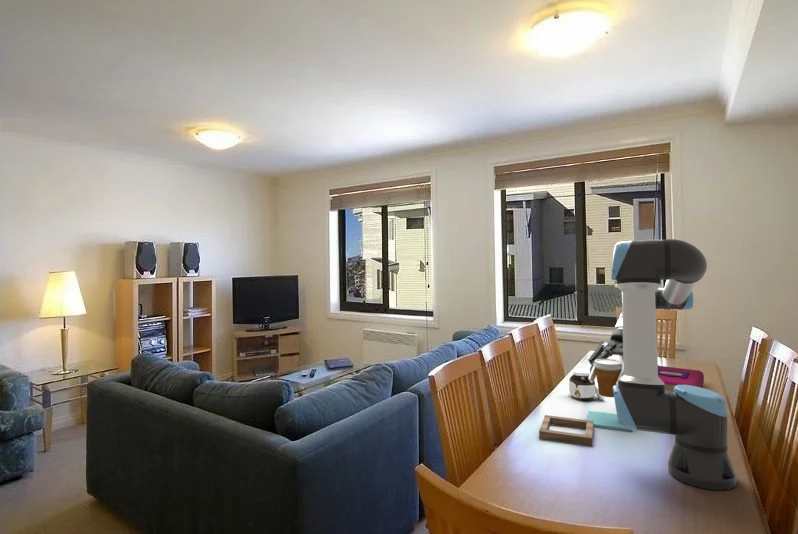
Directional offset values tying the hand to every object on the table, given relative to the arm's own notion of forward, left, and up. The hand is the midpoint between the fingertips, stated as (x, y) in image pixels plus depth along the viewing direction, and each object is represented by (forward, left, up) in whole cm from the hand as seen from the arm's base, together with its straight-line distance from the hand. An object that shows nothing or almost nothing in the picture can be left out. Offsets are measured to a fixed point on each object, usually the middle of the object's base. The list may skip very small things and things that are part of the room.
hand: (604, 383), depth 157 cm
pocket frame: (-14, +12, -14) cm, 23 cm away
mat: (+2, -1, -14) cm, 15 cm away
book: (+56, -27, -15) cm, 64 cm away
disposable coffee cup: (+3, -1, -5) cm, 6 cm away
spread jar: (+28, +7, -15) cm, 33 cm away
